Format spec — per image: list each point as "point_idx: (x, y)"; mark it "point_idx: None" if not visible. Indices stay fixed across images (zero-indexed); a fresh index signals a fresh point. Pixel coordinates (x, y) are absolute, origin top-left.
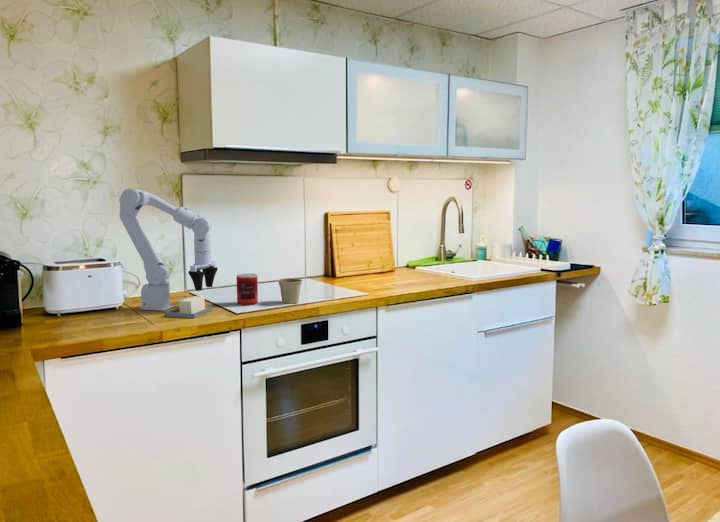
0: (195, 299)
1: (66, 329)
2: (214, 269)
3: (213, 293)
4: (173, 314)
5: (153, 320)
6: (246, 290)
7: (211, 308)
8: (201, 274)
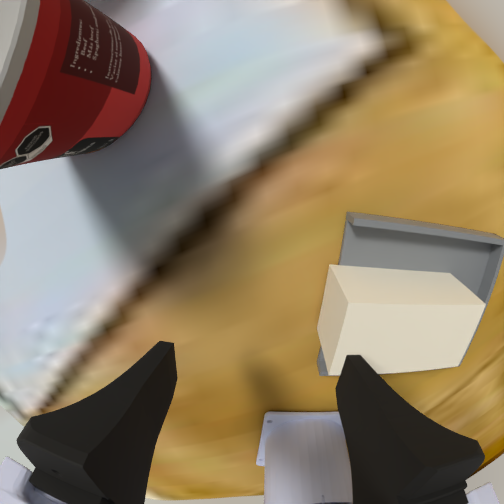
0: (438, 312)
1: (497, 435)
2: (95, 459)
3: (3, 350)
4: None
5: (489, 354)
6: (107, 33)
7: (356, 215)
8: (472, 440)
